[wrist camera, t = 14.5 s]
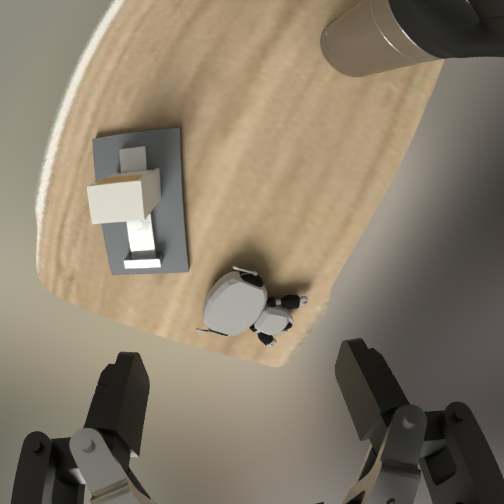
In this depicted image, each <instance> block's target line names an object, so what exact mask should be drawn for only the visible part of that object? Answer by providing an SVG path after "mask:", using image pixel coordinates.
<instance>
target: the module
mask: <svg viewBox="0 0 504 504" xmlns="http://www.w3.org/2000/svg"><path fill="white" fill-rule="evenodd" d="M87 192H88V200H89V207H90V214H91V220H92V224H100V223H113V222H127V221H142V220H145V219H146V218H147V216H148V215H149V214H150V212H151V211H152V210H153V208H154V207H155V206H156V205H157V203H158V202H159V201H160V199H161V187H160V170H159V168H156V169H154V170H146V171H136V172H126V173H120V172H116V173H114V174H112V175H110V176H107V177H105V178H103V179H101V180H99V181H97V182H95V183H93V184H91V185H89V186H87Z"/></svg>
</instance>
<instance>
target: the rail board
mask: <svg viewBox="0 0 504 504" xmlns="http://www.w3.org/2000/svg"><path fill="white" fill-rule="evenodd" d="M142 146H147V153H148V170H154V169H156V168H159V170H160V187H161V199H160V201H159V202H158V203H157V205H156V206H155V207H154V208H153V210H152V216H153V225H154V234H155V241H156V249H157V252H163V257H164V260H163V263H162V266H161V267H152V268H127V269H125V265H124V259H125V258H126V256H127V255H128V253H131V248H130V242H129V235H128V229H127V222H113V223H102V228H103V234H104V240H105V245H106V250H107V255H108V259H109V264H110V269H111V273H112V275H127V274H155V273H180V272H189V262H188V252H187V241H186V229H185V216H184V202H183V185H182V164H181V131H180V128H168V129H157V130H148V131H140V132H132V133H125V134H118V135H112V136H106V137H100V138H95V139H93V154H94V167H95V178H96V182H97V181H99V180H101V179H103V178H105V177H107V176H110V175H112V174H114V173H116V172H120V173H121V167H120V152H119V150H120V149H126V148H134V147H142Z"/></svg>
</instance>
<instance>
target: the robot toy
mask: <svg viewBox="0 0 504 504" xmlns="http://www.w3.org/2000/svg"><path fill="white" fill-rule="evenodd" d="M233 268H234V269H235V270H241V271H240V272H238V271H232V272H229V273H227V274H225V275H224V276H222V277H221V278H220V279H219V280H218V281H217V282H216V283H215V284H214V286H213V287H212V288H211V289H210V290H209V292H208V294H207V297H206V300H205V302H204V307H203V317H204V322H205V325H206V326H207V327H209V330H211V331H209V330H202V329H195V330H196V331H197V332H208V333H215V334H217V335H218V334H220V335H225V336H228V335H230V336H233V335H237V334H240V333H242V332H244V331H245V330H247V329H248V328H250V329H251V330H252V331H253V332H255V331H256V332H257V333H258V338H259V339H260V341H262V342H263V343H264V344H265V345H267V346H269V347H272V346H273V345H272V343H273V344H274V345H275V344H276V342H277V341H276V340H275V339H274V338H273V336H272V335H275V334H284V333H286V332H287V331H288V330H287V329H289V328H291V327H292V325H293V322H294V320H293V318H292V316H291V314H290V312H289V311H288V310H287V309H294V308H299V305H300V306H305V305H307V303H308V302H307V301H308V297H306V296H301V297H299V296H298V295H286V296H285V297H283V298H282V299H280V300H275V299H274V297H269V298H267V291H266V288H265V286H264V284H263V281H262V279H261V277H260V276H259V275H258V273H257V272H256V271H249V270H245V269H242V268H238V267H236V266H233ZM286 308H287V309H286Z"/></svg>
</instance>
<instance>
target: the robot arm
mask: <svg viewBox="0 0 504 504" xmlns="http://www.w3.org/2000/svg"><path fill="white" fill-rule="evenodd" d="M468 1H469V2H470V3H468V2H467V1H466V0H362V1H360V2H359V3H358V4H356V5H355V6H353V7H352V8H351V9H349V10H348V11H347V12H345V13H344V14H343V15H341V16H340V17H339V18H337V19H336V20H335V21H334V22H332V23H331V24H330V25H329V26H327V27H326V28H325V30H324V31H323V33H322V36H321V48H322V51H323V54H324V56H325V57H326V59H327V60H328V62H329V63H330V64H331V65H332V66H333V67H334V68H335V69H337V70H338V71H340V72H341V73H343V74H346V75H348V76H353V77H362V76H365V75H369V74H373V73H380V72H384V71H388V70H392V69H396V68H401V67H406V66H410V65H415V64H417V63H422V62H427V61H433V60H439V59H446V58H453V57H454V58H468V57H487V56H488V57H504V0H468ZM335 375H336V379H337V382H338V384H339V387H340V389H341V392H342V394H343V397H344V399H345V402H346V405H347V407H348V410H349V412H350V415H351V417H352V420H353V422H354V425H355V428H356V430H357V433H358V436H359V439H360V441H363V440H366V439H370V441H371V445H370V448H369V450H368V453H367V455H366V458H365V460H364V463H363V465H362V467H361V470H360V472H359V474H358V477H357V479H356V481H355V483H354V485H353V486H352V488H351V489H350V490H349V492H348V494H347V495H346V497H345V499H344V500H343V502H342V504H412V503H413V501H414V498H415V494H416V491H417V488H418V485H419V482H420V478H421V471H420V470H419V469H418V468H417V466H418V462H419V464H420V467H421V470H422V473H423V475H424V478H425V481H426V484H427V487H428V490H429V493H430V496H431V499H432V502H433V504H504V479H503V476H502V474H501V471H500V469H499V467H498V464H497V462H496V460H495V458H494V455H493V453H492V451H491V449H490V447H489V445H488V443H487V441H486V439H485V436H484V435H483V432H482V430H481V429H480V427H479V425H478V423H477V421H476V419H475V417H474V415H473V413H472V411H471V410H470V408H469V407H468V406H467V405H466V404H464V403H462V402H453V403H451V404H449V405H448V406H447V407H446V409H445V410H444V411H430V412H424V411H423V410H422V409H421V408H420V407H418V406H415V405H411V404H410V403H409V402H408V400H407V398H406V396H405V395H404V393H403V391H402V389H401V387H400V386H399V384H398V382H397V380H396V378H395V377H394V375H392V371H391V370H390V368H389V367H388V364H387V363H386V361H385V359H384V358H383V356H382V355H381V354H380V353H378V352H377V351H376V350H375V349H374V348H371V349H368V348H367V346H366V344H365V343H364V341H363V339H361V338H357V339H350V340H344V341H343V342H342V344H341V347H340V351H339V354H338V358H337V361H336V364H335ZM149 389H150V383H149V377H148V374H147V372H146V369H145V367H144V364H143V362H142V359H141V356H140V354H139V353H137V352H120V353H119V354H118V357H117V360H116V363H115V364H108V366H107V367H106V368H105V369H104V370H103V371H102V372H101V375H100V378H99V381H98V386H97V387H96V390H95V394H94V396H93V399H92V402H91V406H90V409H89V412H88V415H87V419H86V423H85V425H84V427H83V429H80V430H78V431H76V432H75V433H74V434H73V435H72V437H69V438H57V439H50V438H49V437H48V436H47V435H46V434H44V433H42V432H39V431H35V432H32V433H30V434H28V435H27V437H26V438H25V440H24V443H23V446H22V450H21V454H20V458H19V462H18V466H17V471H16V476H15V481H14V487H13V492H12V499H11V504H83V502H84V491H85V484H87V486H88V488H89V490H90V492H91V494H92V498H91V499H90V501H91V504H157V503H156V502H155V500H154V499H153V498H152V497H151V495H150V494H149V493H148V491H147V490H146V489H145V487H144V486H143V485H142V483H141V482H140V480H139V479H138V477H137V476H136V474H135V473H134V471H133V470H132V468H131V467H130V466H129V461H130V456H132V457H139V454H140V446H141V439H142V431H143V425H144V419H145V412H146V407H147V401H148V395H149ZM317 504H324V502H322V503H317Z"/></svg>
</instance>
